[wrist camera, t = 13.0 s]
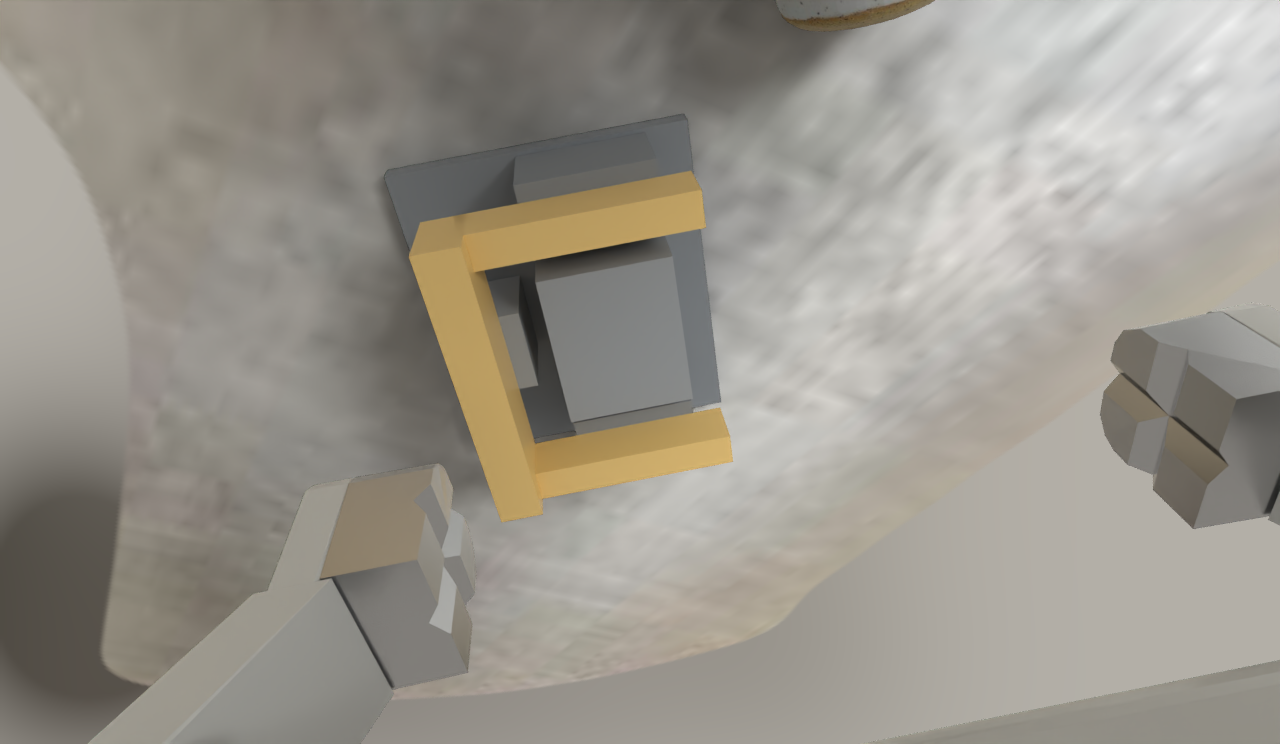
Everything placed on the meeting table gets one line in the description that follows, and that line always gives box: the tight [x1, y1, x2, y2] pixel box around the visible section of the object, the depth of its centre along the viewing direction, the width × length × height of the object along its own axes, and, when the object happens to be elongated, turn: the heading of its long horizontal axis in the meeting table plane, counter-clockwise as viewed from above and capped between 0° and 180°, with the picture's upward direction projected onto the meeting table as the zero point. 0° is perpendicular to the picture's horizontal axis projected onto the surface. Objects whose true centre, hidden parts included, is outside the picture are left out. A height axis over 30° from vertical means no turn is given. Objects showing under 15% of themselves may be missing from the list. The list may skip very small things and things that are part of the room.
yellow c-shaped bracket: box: [409, 171, 733, 522], centre depth 35 cm, size 12×14×4 cm
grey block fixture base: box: [384, 114, 721, 438], centre depth 38 cm, size 14×16×6 cm
